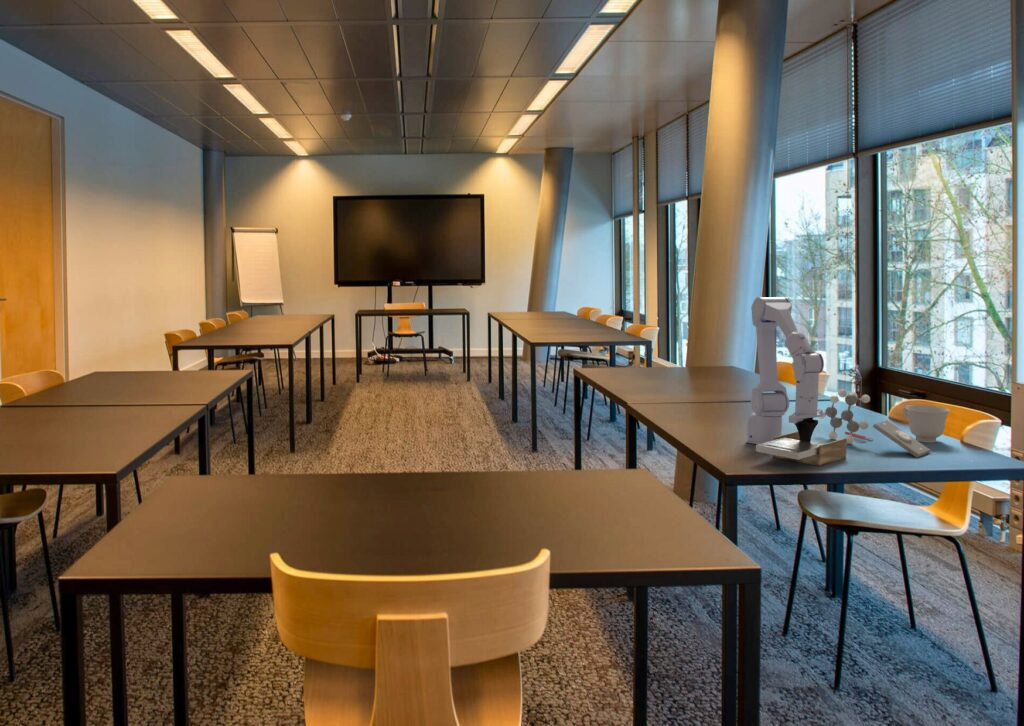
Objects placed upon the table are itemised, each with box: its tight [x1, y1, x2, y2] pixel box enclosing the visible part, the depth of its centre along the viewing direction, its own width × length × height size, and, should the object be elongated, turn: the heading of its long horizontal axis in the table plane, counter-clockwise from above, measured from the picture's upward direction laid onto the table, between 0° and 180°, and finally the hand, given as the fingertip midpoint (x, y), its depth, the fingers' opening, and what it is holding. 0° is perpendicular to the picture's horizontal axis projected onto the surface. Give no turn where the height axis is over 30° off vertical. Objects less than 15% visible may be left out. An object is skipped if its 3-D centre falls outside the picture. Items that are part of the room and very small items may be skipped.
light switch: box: [872, 420, 931, 458], centre depth 225 cm, size 8×6×14 cm
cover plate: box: [755, 438, 824, 460], centre depth 211 cm, size 12×14×2 cm
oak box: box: [772, 430, 847, 467], centre depth 217 cm, size 14×14×6 cm
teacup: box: [902, 404, 951, 443], centre depth 239 cm, size 12×15×10 cm
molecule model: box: [818, 388, 874, 445], centre depth 240 cm, size 20×16×16 cm
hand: (804, 445), depth 216 cm, fingers closed, pressing on cover plate
